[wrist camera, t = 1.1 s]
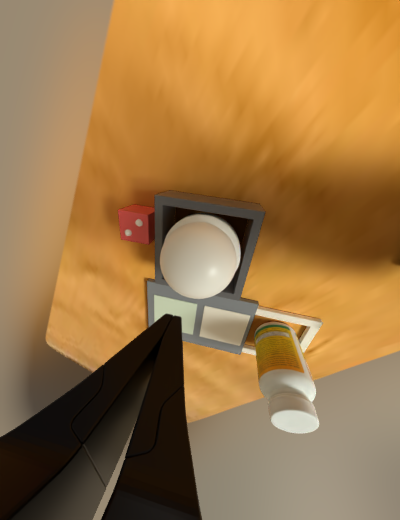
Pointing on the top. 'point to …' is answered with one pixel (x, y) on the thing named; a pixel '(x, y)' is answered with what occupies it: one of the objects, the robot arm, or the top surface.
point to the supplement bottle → (285, 378)
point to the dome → (200, 255)
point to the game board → (219, 318)
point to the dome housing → (163, 219)
